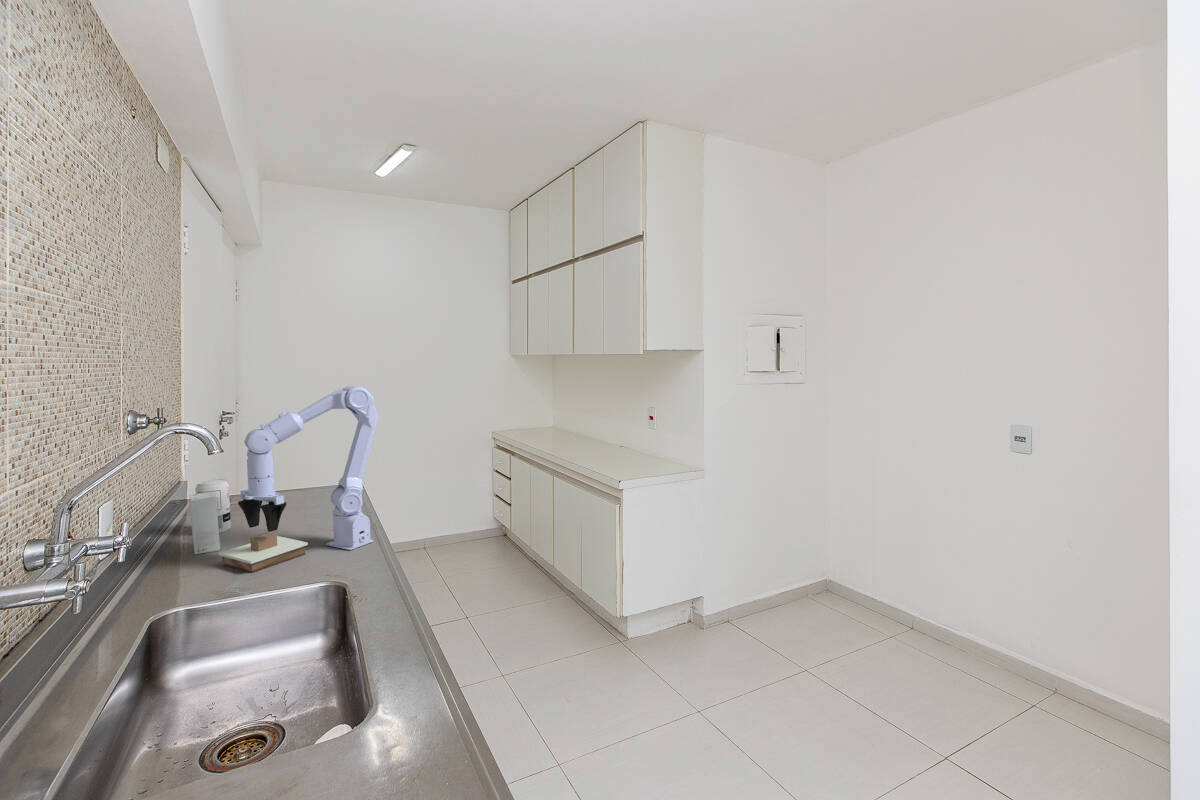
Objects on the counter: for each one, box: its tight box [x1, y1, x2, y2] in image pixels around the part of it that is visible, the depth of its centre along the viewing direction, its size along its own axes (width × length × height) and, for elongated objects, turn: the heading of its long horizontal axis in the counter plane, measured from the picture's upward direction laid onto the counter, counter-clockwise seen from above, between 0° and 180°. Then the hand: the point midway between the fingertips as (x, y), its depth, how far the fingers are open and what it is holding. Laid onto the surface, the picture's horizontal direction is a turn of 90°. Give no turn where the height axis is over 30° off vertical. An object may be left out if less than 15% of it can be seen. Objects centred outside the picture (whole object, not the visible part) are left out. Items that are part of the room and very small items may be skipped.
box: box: [221, 546, 306, 574], centre depth 143 cm, size 12×14×2 cm
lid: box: [218, 532, 309, 564], centre depth 143 cm, size 13×15×4 cm
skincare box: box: [189, 492, 221, 555], centre depth 150 cm, size 8×6×15 cm
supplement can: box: [194, 478, 232, 534], centre depth 165 cm, size 8×8×15 cm
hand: (263, 528), depth 142 cm, fingers open, 7 cm apart
